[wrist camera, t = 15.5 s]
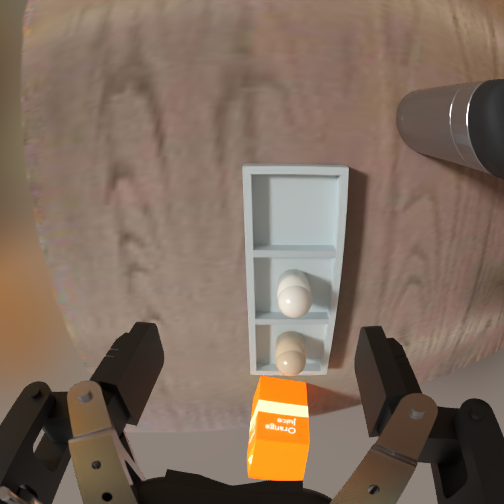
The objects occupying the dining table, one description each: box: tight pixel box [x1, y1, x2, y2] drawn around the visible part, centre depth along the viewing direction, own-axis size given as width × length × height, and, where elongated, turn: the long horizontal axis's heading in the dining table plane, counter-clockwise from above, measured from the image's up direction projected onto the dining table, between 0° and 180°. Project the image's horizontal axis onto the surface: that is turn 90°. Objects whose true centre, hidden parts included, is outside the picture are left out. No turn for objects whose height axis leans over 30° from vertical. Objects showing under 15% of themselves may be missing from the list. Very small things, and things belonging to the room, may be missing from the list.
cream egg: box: [277, 269, 312, 318], centre depth 41 cm, size 5×5×7 cm
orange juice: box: [247, 376, 310, 481], centre depth 46 cm, size 8×9×20 cm
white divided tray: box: [242, 163, 349, 375], centre depth 44 cm, size 13×34×3 cm, turn 2°
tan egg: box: [276, 331, 306, 376], centre depth 45 cm, size 5×5×7 cm
